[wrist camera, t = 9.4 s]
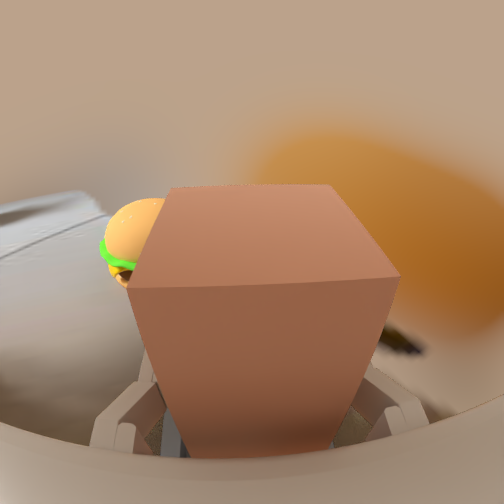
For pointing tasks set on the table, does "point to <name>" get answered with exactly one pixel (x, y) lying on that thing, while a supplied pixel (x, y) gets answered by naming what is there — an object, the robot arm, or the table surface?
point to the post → (259, 314)
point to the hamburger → (128, 236)
